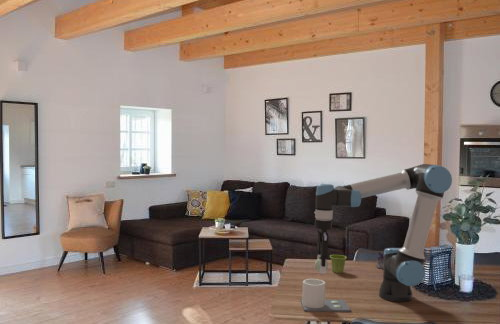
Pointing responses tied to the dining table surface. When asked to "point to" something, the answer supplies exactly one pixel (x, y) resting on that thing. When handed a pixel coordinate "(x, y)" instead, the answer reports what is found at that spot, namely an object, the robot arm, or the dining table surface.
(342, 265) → the plant pot
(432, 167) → the robot arm
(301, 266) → the dining table surface
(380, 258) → the geode
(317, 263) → the sage ball
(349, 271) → the dining table surface
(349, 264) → the dining table surface
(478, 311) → the dining table surface
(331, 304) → the tube stand
